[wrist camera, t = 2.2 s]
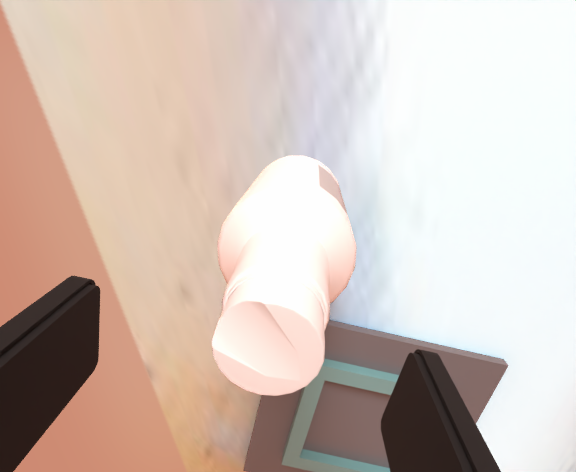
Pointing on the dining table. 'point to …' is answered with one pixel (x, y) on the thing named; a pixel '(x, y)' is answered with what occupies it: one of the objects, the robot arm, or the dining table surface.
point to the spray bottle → (282, 276)
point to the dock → (354, 403)
